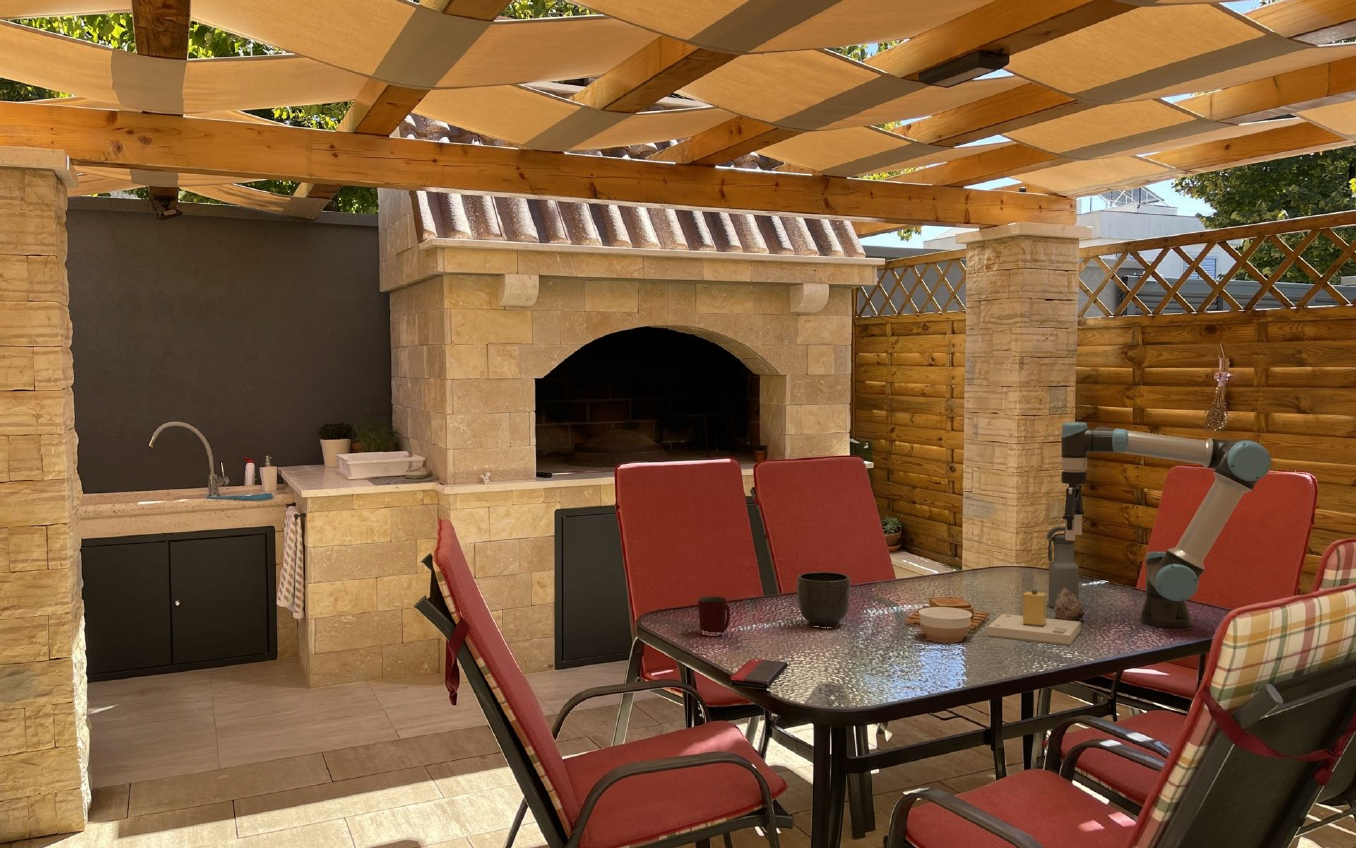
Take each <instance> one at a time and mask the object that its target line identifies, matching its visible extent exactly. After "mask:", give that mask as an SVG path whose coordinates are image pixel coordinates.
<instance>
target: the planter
mask: <svg viewBox="0 0 1356 848" xmlns="http://www.w3.org/2000/svg"><path fill="white" fill-rule="evenodd" d="M796 595H797V602H798V603H797V604H798V608H799V611H800V614H801V615H802V617H803V618H804V619H805V621H807V622H808V624H809V625H810V624H811V625H812V626H819V627H826V628H825V629H828V628H827V627H834V628H836V627H835V626H837V627H838V626H839V624H840V623H841V621H842V620H844V618H845V617H846V616H847V614H848V611H849V607H850V601H851V600H850V599H851V576H850V575H848V574H845V573H840V572H831V571H813V572H812V571H811V572H810V571H809V572H805V573H804V572H803V573H800V574H797V577H796ZM812 626H811V627H812Z"/></svg>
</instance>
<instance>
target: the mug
mask: <svg viewBox="0 0 1356 848" xmlns="http://www.w3.org/2000/svg"><path fill="white" fill-rule="evenodd" d="M697 601H698V602H697V604H698V617H699V618H698V619H699V628H700V629H701V630H704V631H708V632H721V633H722V632H724V633H725V632H726V630H727V629H728V627H729V624H730V620H731V619H730V617H731V611H730V606H729V605H728V604H727V598H726V597H723V596H715V595H714V596H712V595H711V596H709V595H708V596H702V597H699V598H698V599H697ZM700 629H699V630H700ZM701 630H700V631H701Z"/></svg>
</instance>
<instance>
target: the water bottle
mask: <svg viewBox="0 0 1356 848" xmlns="http://www.w3.org/2000/svg"><path fill="white" fill-rule="evenodd" d="M1057 532H1062V533H1057ZM1046 535H1047V536H1046V539H1047V540H1048V546H1047V559H1048V561H1049V562H1050V563H1049V565H1048V606H1049V607H1051V608H1052V609H1055V606H1056V597H1057V595H1058V593H1059V592H1060V590H1062V588H1066V589H1067V590H1069V591H1071V593H1073V594H1074V595H1075V596H1077V598H1078V600H1079V601H1080V599H1079V598H1080V597H1079V595H1080V594H1079V593H1080V592H1079V591H1080V590H1079V587H1080V585H1079V579H1080V578H1079V577H1080V570H1079V569H1080V567H1079V565H1078V564H1077V563H1076V562H1075V554H1074V553H1075V549H1074V547H1075V543H1076V540H1075V541H1071V540H1065V525H1064V526H1062V525H1061V526H1054V527H1052V528H1051V529H1050V530H1049V531H1048V532H1047V534H1046ZM1052 542H1053V543H1052ZM1052 544H1053V546H1052ZM1052 560H1053V561H1052Z"/></svg>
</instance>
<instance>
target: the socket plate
mask: <svg viewBox="0 0 1356 848" xmlns="http://www.w3.org/2000/svg"><path fill="white" fill-rule="evenodd" d="M1081 624H1082V621H1077V620H1069V621H1067V620H1060V619H1059V618H1057V619H1055V618H1047V617H1046V623H1045V624H1044V625H1042V627H1035V626H1027V624H1026V623H1023V615H1016V614H1009V613H1008V614H1007V613H1002V614H1001V615H1000V616H998V617H997V618H996V619H995V620H994V621H992V622H991V623H990V624H989V625H987V637H991V638H999V639H1000V638H1001V639H1006V640H1007V639H1009V640H1017V641H1019V640H1020V641H1027V642H1035V643H1046V644H1053V645H1062V646H1071V645H1072V644H1073V642H1074V641H1075V640H1076V639H1077V637H1078V636H1079V634H1080V633H1081V632H1082V630H1081V629H1082V625H1081Z"/></svg>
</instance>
